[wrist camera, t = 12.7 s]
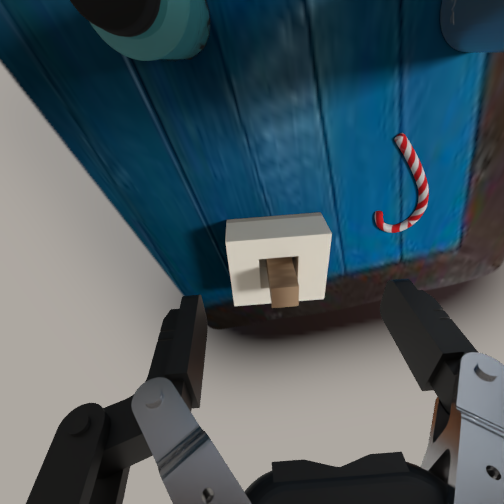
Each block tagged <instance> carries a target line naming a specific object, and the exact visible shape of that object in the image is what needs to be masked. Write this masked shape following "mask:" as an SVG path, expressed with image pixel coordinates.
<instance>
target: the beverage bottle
mask: <svg viewBox="0 0 504 504" xmlns="http://www.w3.org/2000/svg"><path fill="white" fill-rule="evenodd" d="M70 1H71V3H72V4H73V5H74V7H75V8H76V9H77V10H78V11H79V12H80V14H81V15H82V16H83V17H85V18H86V19H87V20H88V21H89V22H90V23H91V25H92V26H93V28H94V29H95V31H96V32H97V33H98V34H99V36H100V37H101V38H102V39H103V40H104V41H105V42H106V43H107V44H108V45H109V46H111V47H112V48H113V49H114V50H116V51H117V52H119V53H121V54H122V55H124V56H127V57H129V58H132V59H135V60H141V61H152V60H157V59H167V61H168V60H169V59H180V60H181V59H187V58H188V59H190V60H191V59H192V58H191V57H193V56H195V55H196V54H198V53H199V52H200V51H201V50H202V49H203V48H204V45H205V46H206V44H205V43H206V41H207V40H208V39H209V38H208V34H209V32H211V31H209V27H210V18H209V13H208V8H207V6H208V5H207V3H206V0H70ZM210 16H211V15H210ZM210 28H211V27H210ZM209 37H210V36H209ZM203 50H204V49H203ZM198 55H199V54H198ZM165 61H166V60H165ZM167 61H166V62H167ZM172 61H173V60H172ZM174 61H175V60H174ZM174 61H173V62H174ZM175 62H176V61H175Z"/></svg>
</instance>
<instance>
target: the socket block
mask: <svg viewBox="0 0 504 504" xmlns="http://www.w3.org/2000/svg"><path fill="white" fill-rule="evenodd" d="M331 237H332V233H331V231H330V229H329V227H328V225H327V223H326V222H325V220H324V218H323V216H322V214H321V212H319V213H306V214H294V215H281V216H269V217H256V218H244V219H231V220H227V222H226V239H225V243H226V250H227V257H228V264H229V271H230V278H231V285H232V292H233V299H234V306H242V305H255V304H268V303H271V297H270V290H269V282H268V275H267V268H266V260H265V259H268V258H281V257H291V258H292V262H293V265H294V269H295V273H296V276H297V280H298V284H299V301H305V300H318V299H324V295H325V287H326V279H327V270H328V262H329V253H330V245H331Z"/></svg>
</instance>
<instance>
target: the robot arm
mask: <svg viewBox="0 0 504 504" xmlns="http://www.w3.org/2000/svg"><path fill="white" fill-rule="evenodd" d="M440 24H441V29H442V34H443V36H444V38H445V40H446V42H447V43H448V44H449V45H450V46H451V47H452V48H454V49H456V50H458V51H462V52H504V0H442V5H441V11H440ZM380 312H381V317H382V319H383V321H384V323H385V325H386V326H387V328H388V330H389V332H390V334H391V335H392V337H393V339H394V341H395V343H396V345H397V346H398V348H399V350H400V351H401V354H402V355H403V357H404V359H405V361H406V363H407V364H408V366H409V368H410V370H411V372H412V374H413V375H414V377H415V379H416V381H417V382H418V384H419V386H420V388H421V390H422V391H428V390H434V391H435V393H436V394H437V396H438V397H437V398H436V401H435V406H434V413H433V419H432V425H431V431H430V437H429V443H428V447H427V451H426V454H425V456H424V459H423V461H422V465H421V467H419V466H417V465H414V464H411V463H408V462H406V461H405V459H404V457H403V454H402V452H393V453H381V454H370V455H367V456H365V457H362V458H360V459H358V460H356V461H354V462H351V463H349V464H347V465H344V466H342V467H334V466H329V465H325V464H321V463H316V462H312V461H307V460H293V461H280V462H272V471H270V472H268V473H266V474H264V475H262V476H261V477H259V478H258V479H257V480H256V481H254V482H253V483H252V484H251V485H250V486H249V487H248V488H247V489H246V491H245V492H244V491H243V489H242V488H241V486H240V485H239V483H238V481H237V480H236V478H235V477H234V475H233V474H232V472H231V471H230V469H229V467H228V466H227V464H226V463H225V461H224V460H223V458H222V456H221V455H220V453H219V452H218V450H217V449H216V447H215V446H214V444H213V443H212V441H211V439H210V438H209V436H208V435H207V434H206V432H205V431H203V430H202V429H201V427H200V426H199V424H198V423H197V422H196V420H195V418H194V417H193V415H192V413H191V409H192V408H199V407H200V398H201V389H202V379H203V369H204V360H205V359H204V358H205V350H206V340H207V318H206V314H205V309H204V305H203V301H202V297H201V295H191V296H183V297H182V300H181V305H180V309H171V310H170V311H169V313H168V314H167V315H166V317H165V318H164V320H163V323H162V327H161V332H160V334H159V337H158V342H157V345H156V349H155V352H154V356H153V359H152V363H151V367H150V370H149V374H148V377H147V380H146V381H145V383H143V384H142V385H141V386H140V387H139V388H138V389H137V391H136V392H135V394H134V395H133V396H131V397H129V398H127V399H125V400H123V401H120V402H118V403H115V404H113V405H110V406H108V407H105V408H102V407H101V406H100V405H99V404H96V403H87V404H84V405H81V406H79V407H77V408H75V409H74V410H73V411H71V412H70V413H69V414H68V415H67V416H66V417H65V418H64V419H63V420H62V422H61V423H60V425H59V427H58V429H57V431H56V434H55V436H54V439H53V441H52V443H51V446H50V448H49V450H48V453H47V455H46V457H45V460H44V462H43V465H42V467H41V469H40V472H39V474H38V476H37V479H36V481H35V483H34V486H33V488H32V491H31V493H30V495H29V498H28V500H27V503H26V504H122V502H123V498H124V493H125V488H126V484H127V479H128V474H129V469H130V466H131V465H133V464H135V463H137V462H140V461H142V460H144V459H146V458H148V457H150V456H152V455H153V456H154V459H155V461H156V463H157V466H158V468H159V473H160V476H161V478H162V481H163V483H164V485H165V487H166V489H167V492H168V494H169V496H170V498H171V500H172V502H173V504H504V365H503V364H502V363H500V362H499V361H498V360H496V359H494V358H492V357H491V356H488V355H486V354H483V353H479V352H478V351H477V350H476V349H475V348H474V347H473V345H472V344H471V343H470V342H469V340H468V339H467V338H466V337H465V335H463V333H462V332H461V331H460V329H459V328H458V327H457V326H456V324H455V323H454V322H453V321H452V319H450V318H449V316H448V314H447V313H446V312H445V311H443V308H442V307H441V306H440V305H439V303H438V302H437V301H436V300H435V299H434V298H433V297H432V296H430V295H429V294H427V293H426V292H425V291H423V290H417V288H416V287H415V286H414V285H413V283H412V282H411V281H410V280H409V279H399V280H389V281H388V282H387V284H386V287H385V291H384V294H383V297H382V301H381V305H380Z"/></svg>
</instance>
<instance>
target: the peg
mask: <svg viewBox="0 0 504 504" xmlns="http://www.w3.org/2000/svg"><path fill="white" fill-rule="evenodd" d="M265 260H266V268H267V275H268V282H269V290H270V297H271V304H272V308H278V307H290V306H298V305H299V284H298V280H297V276H296V273H295V269H294V265H293V262H292V258H291V257H281V258H268V259H265Z"/></svg>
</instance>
